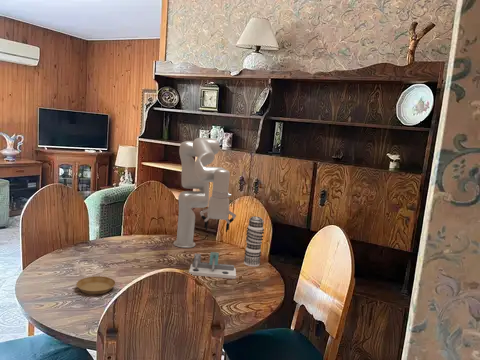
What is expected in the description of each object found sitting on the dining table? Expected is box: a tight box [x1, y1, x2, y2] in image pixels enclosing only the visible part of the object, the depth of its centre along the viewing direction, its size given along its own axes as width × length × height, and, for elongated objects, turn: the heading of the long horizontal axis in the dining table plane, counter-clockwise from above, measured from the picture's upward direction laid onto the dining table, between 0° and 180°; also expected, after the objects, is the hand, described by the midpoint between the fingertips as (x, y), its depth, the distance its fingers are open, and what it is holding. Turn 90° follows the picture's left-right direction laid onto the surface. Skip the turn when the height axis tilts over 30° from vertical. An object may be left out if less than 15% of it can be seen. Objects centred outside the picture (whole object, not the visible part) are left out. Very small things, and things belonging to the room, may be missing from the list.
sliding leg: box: [208, 251, 220, 271], centre depth 185 cm, size 8×4×7 cm, turn 2°
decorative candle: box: [243, 216, 265, 267], centre depth 202 cm, size 9×9×25 cm
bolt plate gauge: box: [188, 253, 237, 280], centre depth 185 cm, size 10×22×8 cm, turn 92°
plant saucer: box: [76, 275, 116, 296], centre depth 155 cm, size 15×15×3 cm
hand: (216, 230), depth 185 cm, fingers open, 9 cm apart
